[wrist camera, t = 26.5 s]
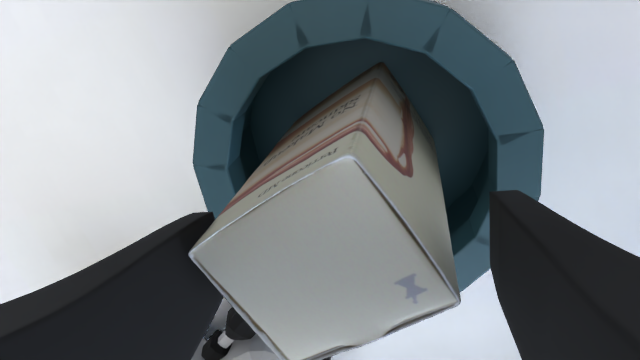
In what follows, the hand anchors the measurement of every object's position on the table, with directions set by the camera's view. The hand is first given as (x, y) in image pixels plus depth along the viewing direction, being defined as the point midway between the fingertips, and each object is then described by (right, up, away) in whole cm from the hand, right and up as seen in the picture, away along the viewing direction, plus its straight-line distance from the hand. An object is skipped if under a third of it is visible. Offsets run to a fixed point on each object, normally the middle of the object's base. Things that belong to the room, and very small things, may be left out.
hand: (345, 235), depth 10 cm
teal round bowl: (+1, +4, +8) cm, 9 cm away
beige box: (+1, +4, +7) cm, 8 cm away
